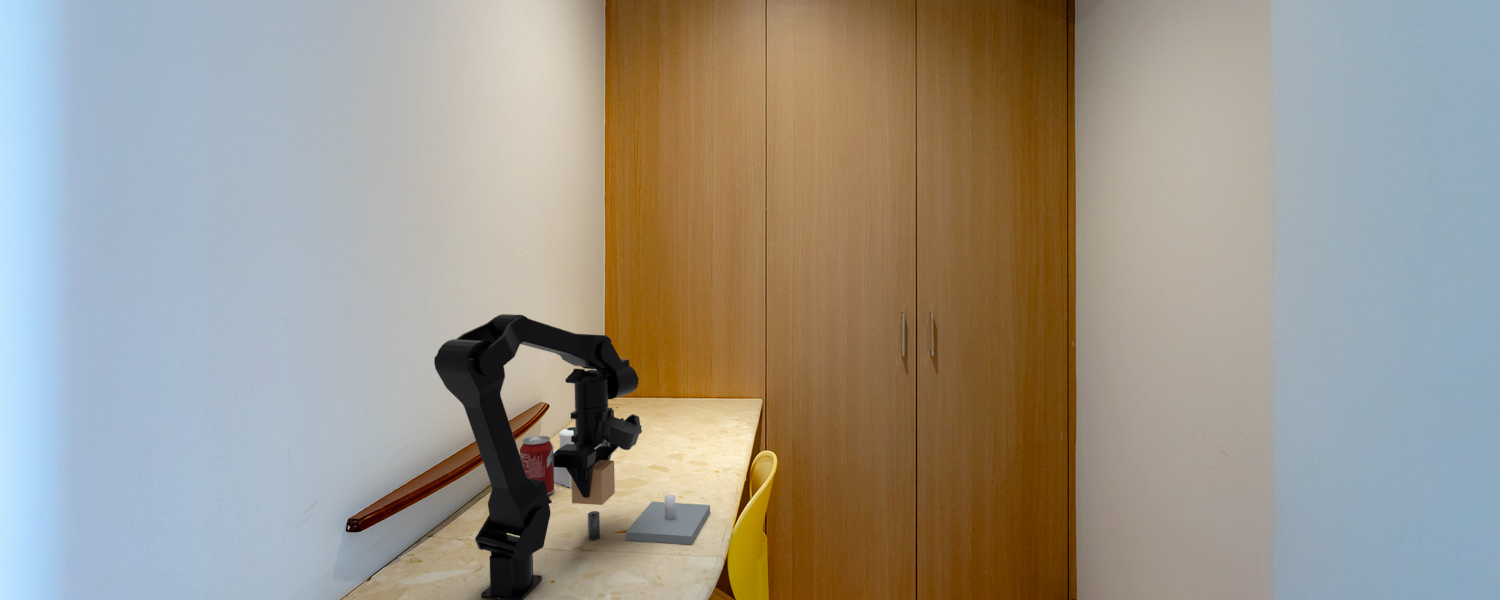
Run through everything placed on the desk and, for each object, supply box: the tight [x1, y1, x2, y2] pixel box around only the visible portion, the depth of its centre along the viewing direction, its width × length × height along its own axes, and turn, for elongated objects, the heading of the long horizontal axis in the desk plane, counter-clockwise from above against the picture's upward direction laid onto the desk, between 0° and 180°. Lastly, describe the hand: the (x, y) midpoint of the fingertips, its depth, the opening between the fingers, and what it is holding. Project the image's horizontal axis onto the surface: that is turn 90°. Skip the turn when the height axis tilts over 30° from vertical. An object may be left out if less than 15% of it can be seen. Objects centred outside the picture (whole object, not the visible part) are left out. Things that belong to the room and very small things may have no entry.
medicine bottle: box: [553, 426, 578, 489], centre depth 135 cm, size 7×7×12 cm
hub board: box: [625, 494, 711, 546], centre depth 111 cm, size 14×12×6 cm
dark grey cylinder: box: [587, 510, 601, 541], centre depth 106 cm, size 2×2×4 cm
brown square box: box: [571, 459, 616, 506], centre depth 106 cm, size 6×6×6 cm
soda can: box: [519, 435, 555, 496], centre depth 127 cm, size 7×7×12 cm
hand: (593, 491), depth 106 cm, fingers closed on brown square box, 6 cm apart
